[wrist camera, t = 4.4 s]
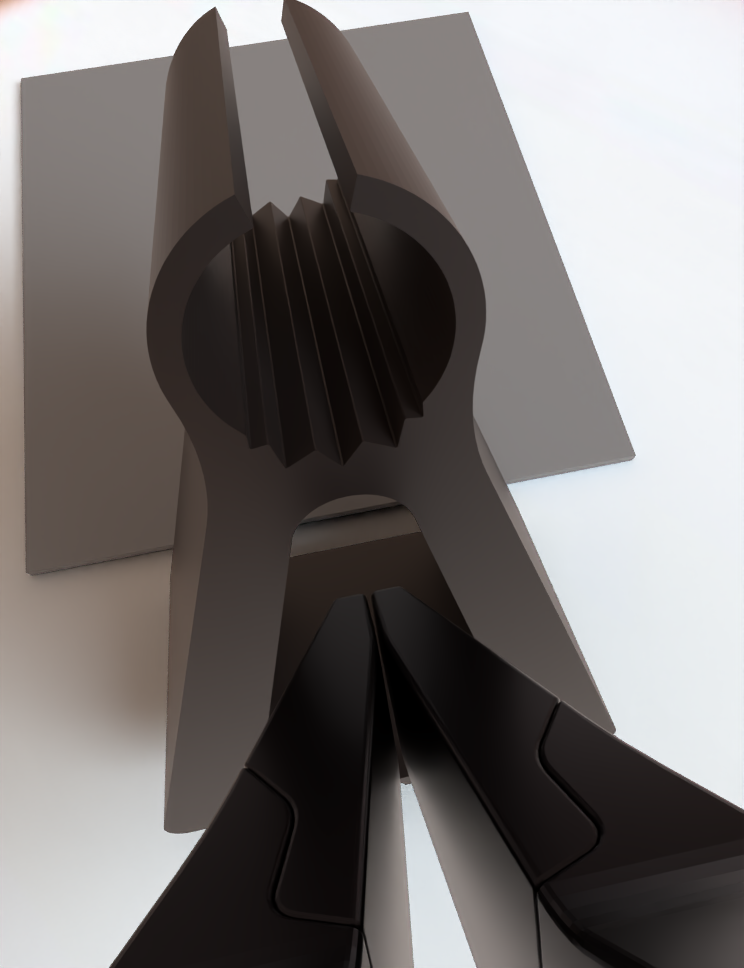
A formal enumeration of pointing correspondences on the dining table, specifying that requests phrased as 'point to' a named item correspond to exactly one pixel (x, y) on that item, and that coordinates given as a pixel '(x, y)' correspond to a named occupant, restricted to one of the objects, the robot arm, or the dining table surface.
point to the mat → (282, 180)
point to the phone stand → (319, 410)
